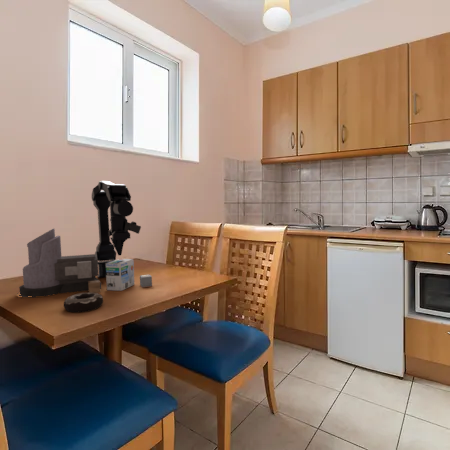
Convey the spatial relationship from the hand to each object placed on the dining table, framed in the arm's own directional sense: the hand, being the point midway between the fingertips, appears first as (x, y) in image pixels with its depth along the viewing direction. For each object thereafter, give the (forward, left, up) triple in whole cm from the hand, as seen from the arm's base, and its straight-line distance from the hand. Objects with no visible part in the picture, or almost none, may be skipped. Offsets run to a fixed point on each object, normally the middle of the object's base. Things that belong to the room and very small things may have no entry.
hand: (119, 255), depth 127 cm
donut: (+21, -14, -13) cm, 29 cm away
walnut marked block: (+2, -10, -13) cm, 17 cm away
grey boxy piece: (-8, -22, -13) cm, 27 cm away
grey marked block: (+2, +10, -13) cm, 16 cm away
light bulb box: (0, 0, -13) cm, 13 cm away
